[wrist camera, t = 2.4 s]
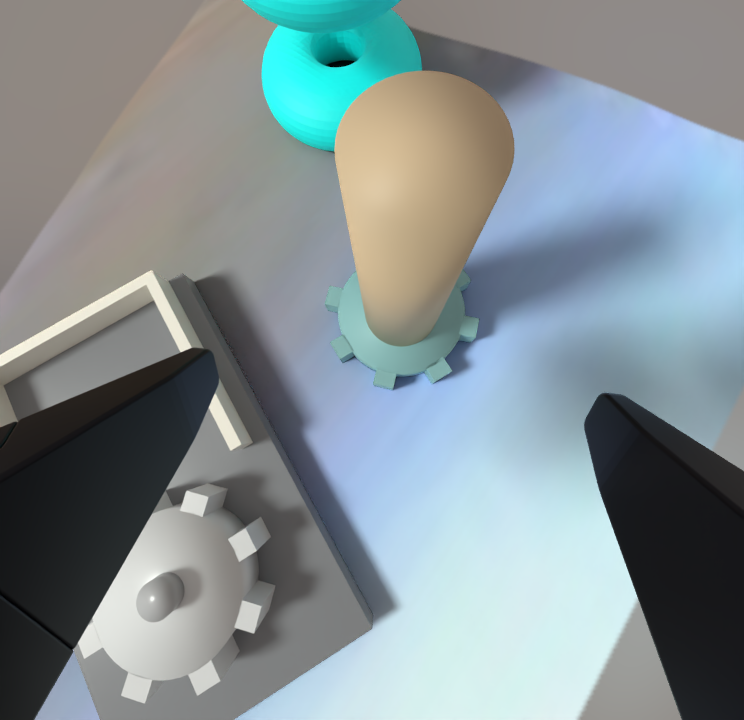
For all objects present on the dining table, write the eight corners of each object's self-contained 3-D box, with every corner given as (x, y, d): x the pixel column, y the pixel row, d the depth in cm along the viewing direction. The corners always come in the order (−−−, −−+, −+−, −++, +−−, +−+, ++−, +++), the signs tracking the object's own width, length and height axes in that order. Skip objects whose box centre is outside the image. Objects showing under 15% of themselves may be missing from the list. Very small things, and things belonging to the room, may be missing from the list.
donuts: (137, -108, 14) (297, -256, 15) (240, 112, 24) (332, 12, 25) (336, 6, 12) (494, -166, 14) (358, 190, 22) (449, 80, 24)
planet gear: (502, 340, 20) (704, 197, 7) (375, 418, 20) (357, 409, 7) (422, 225, 22) (474, -60, 9) (302, 295, 21) (174, 100, 8)
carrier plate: (372, 615, 18) (369, 669, 14) (144, 764, 17) (72, 865, 13) (193, 281, 22) (150, 249, 18) (-2, 392, 21) (-92, 384, 17)
